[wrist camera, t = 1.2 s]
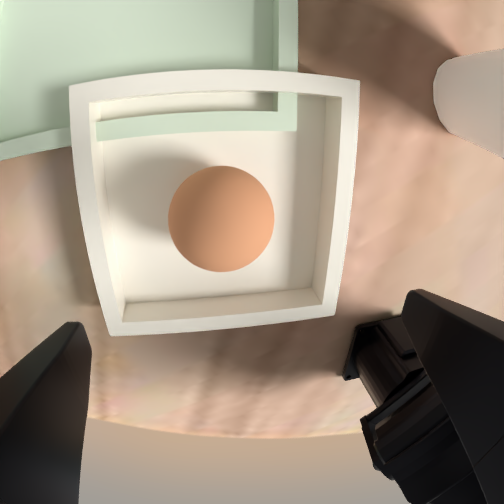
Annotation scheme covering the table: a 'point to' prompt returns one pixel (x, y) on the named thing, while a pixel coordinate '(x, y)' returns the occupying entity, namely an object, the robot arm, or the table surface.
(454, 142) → the table surface
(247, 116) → the tray
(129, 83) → the white square open box
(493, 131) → the foam cup
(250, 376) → the table surface
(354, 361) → the robot arm
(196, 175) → the ball
